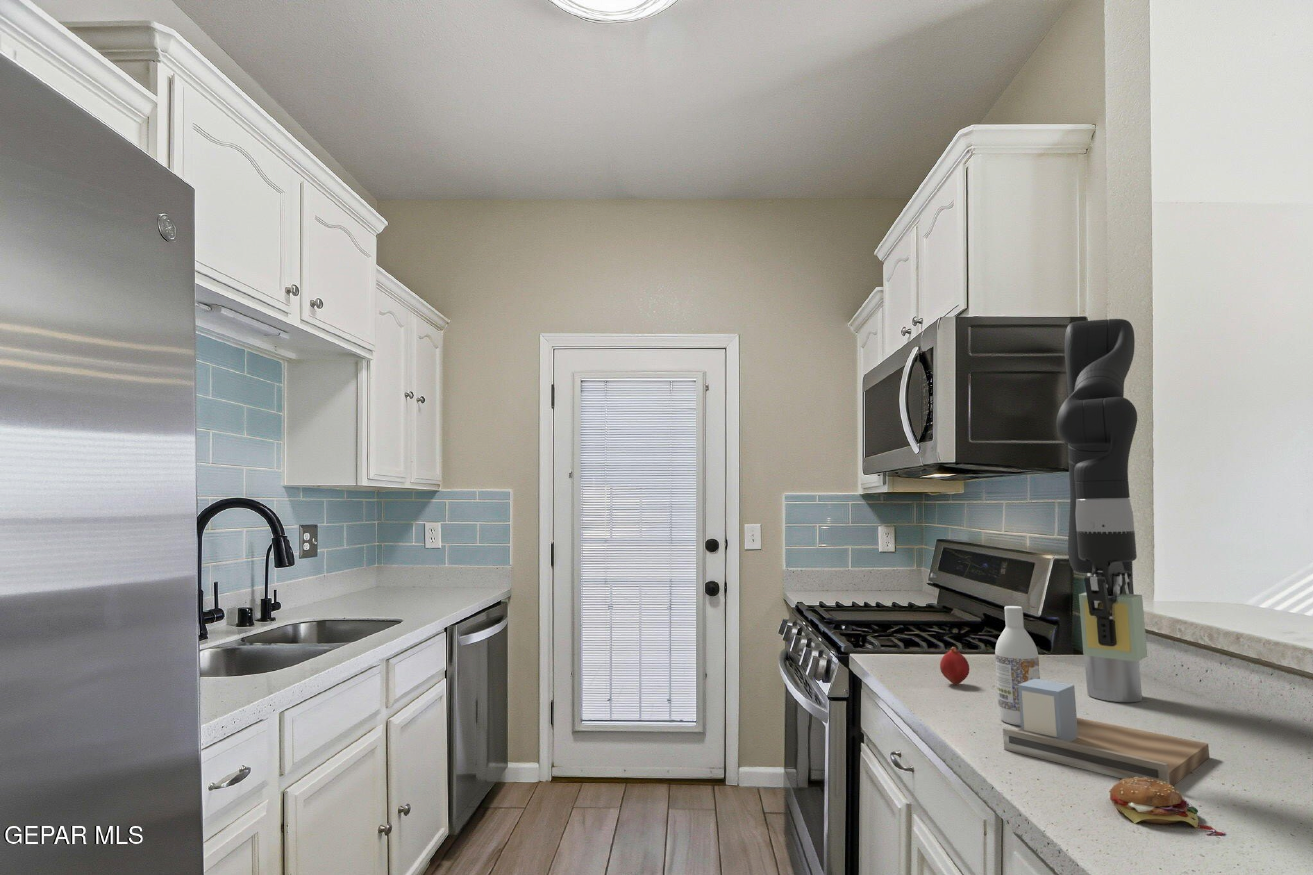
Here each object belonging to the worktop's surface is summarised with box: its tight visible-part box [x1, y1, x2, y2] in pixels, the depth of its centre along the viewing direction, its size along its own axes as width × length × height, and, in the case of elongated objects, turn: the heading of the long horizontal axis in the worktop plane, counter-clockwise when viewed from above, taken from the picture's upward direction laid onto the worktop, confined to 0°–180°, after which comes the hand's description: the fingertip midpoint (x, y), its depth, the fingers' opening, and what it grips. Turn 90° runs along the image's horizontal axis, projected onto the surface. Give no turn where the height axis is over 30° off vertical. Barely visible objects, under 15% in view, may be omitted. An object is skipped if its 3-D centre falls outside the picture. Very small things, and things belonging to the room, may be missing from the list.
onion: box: [939, 646, 970, 686], centre depth 155 cm, size 6×6×8 cm
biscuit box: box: [1018, 678, 1078, 742], centre depth 114 cm, size 6×6×8 cm
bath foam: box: [994, 605, 1041, 727], centre depth 130 cm, size 7×7×20 cm
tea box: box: [1078, 592, 1148, 662], centre depth 109 cm, size 5×7×9 cm
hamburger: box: [1108, 777, 1226, 837], centre depth 89 cm, size 14×14×6 cm
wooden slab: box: [1002, 717, 1210, 787], centre depth 112 cm, size 19×22×3 cm
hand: (1114, 642), depth 108 cm, fingers closed on tea box, 5 cm apart
